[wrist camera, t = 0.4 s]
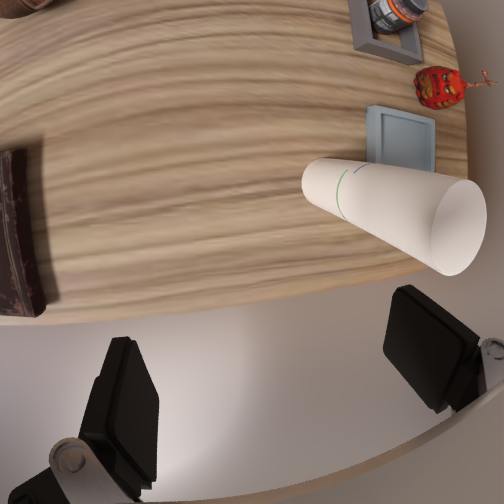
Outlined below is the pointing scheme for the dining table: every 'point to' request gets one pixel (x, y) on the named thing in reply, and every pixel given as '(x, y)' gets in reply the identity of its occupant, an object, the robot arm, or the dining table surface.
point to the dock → (367, 44)
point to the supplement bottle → (395, 14)
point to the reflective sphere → (20, 7)
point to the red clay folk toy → (442, 86)
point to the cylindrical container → (404, 208)
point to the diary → (17, 242)
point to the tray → (400, 139)
